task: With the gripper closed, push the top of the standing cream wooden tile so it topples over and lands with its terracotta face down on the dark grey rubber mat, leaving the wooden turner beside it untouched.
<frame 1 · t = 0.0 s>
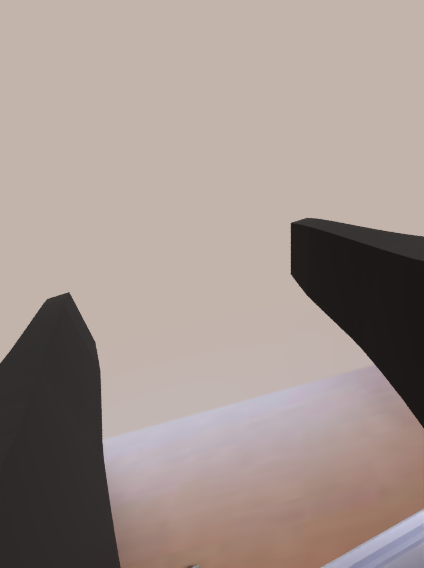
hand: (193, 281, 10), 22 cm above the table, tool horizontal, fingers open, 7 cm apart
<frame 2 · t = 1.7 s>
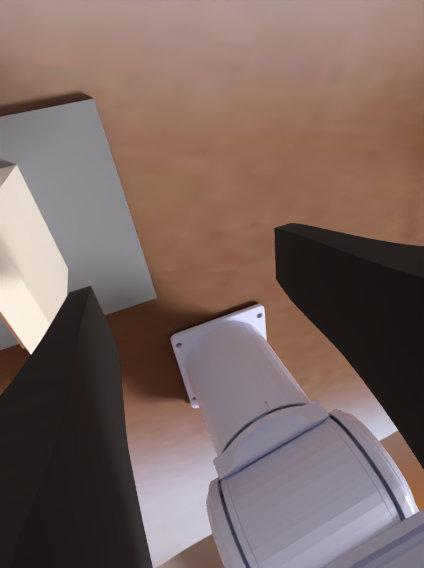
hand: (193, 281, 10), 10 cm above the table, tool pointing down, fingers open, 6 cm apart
tile: (33, 225, 17), point 1 cm above the table, touching mat
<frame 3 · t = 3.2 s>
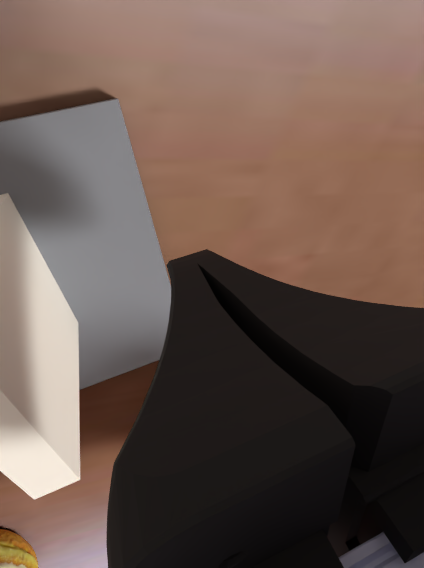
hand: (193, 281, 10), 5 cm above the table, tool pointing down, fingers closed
tile: (32, 271, 12), point 1 cm above the table, touching mat
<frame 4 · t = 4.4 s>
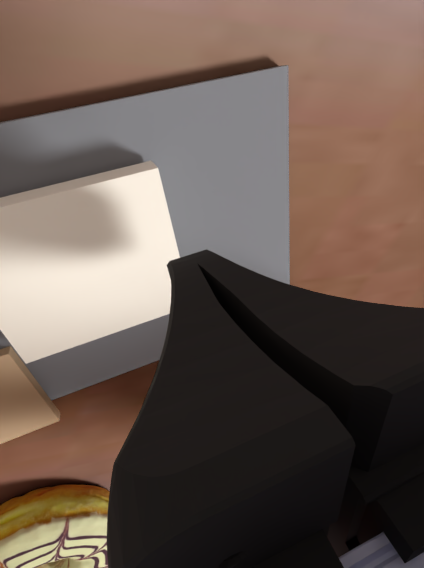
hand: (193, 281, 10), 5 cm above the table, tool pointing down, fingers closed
mat: (100, 267, 14), on the table
tile: (173, 240, 13), point 1 cm above the table, tilted 90°, touching mat
decorated donut: (49, 515, 23), on the table
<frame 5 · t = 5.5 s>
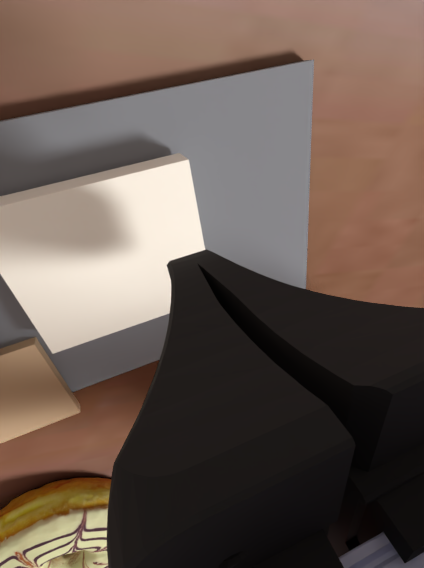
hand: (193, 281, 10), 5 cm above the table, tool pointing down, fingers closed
turner: (11, 391, 15), point 1 cm above the table, touching mat
mat: (123, 260, 14), on the table
tile: (198, 232, 13), point 1 cm above the table, tilted 90°, touching mat
decorated donut: (64, 509, 23), on the table
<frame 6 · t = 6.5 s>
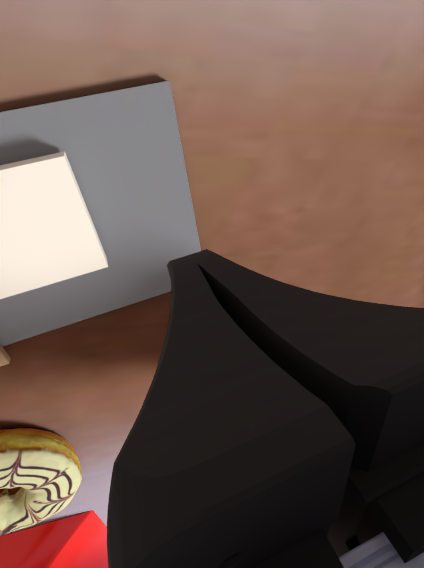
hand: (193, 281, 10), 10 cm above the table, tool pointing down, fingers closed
vase: (47, 546, 35), on the table
mat: (35, 236, 18), on the table
tile: (88, 213, 16), point 1 cm above the table, tilted 90°, touching mat
decorated donut: (12, 459, 26), on the table
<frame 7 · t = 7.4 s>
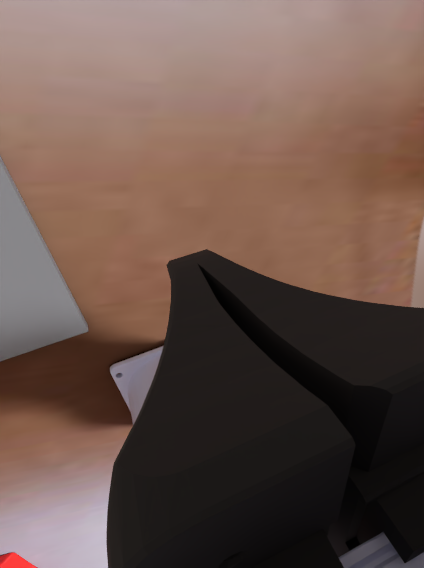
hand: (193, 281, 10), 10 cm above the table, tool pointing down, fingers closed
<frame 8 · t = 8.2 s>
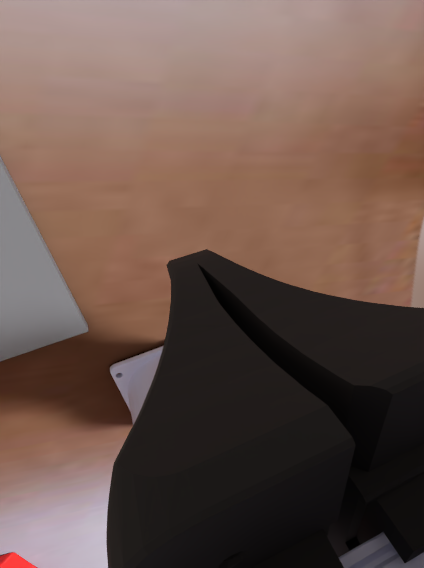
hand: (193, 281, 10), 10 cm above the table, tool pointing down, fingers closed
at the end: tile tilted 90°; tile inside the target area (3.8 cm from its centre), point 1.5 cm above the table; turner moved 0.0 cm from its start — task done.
